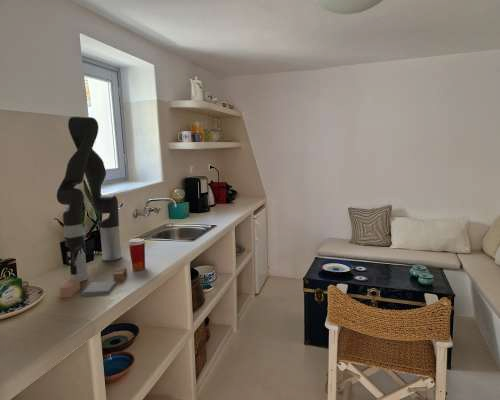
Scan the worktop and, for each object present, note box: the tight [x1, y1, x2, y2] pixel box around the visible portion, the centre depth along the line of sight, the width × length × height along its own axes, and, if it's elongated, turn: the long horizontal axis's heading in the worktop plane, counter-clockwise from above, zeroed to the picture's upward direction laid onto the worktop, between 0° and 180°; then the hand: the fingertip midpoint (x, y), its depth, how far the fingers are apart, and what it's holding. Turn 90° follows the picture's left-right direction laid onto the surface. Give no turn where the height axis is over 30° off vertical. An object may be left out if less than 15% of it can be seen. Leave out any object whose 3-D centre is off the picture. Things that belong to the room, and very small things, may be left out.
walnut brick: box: [112, 266, 128, 284], centre depth 149 cm, size 8×4×4 cm, turn 9°
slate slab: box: [81, 280, 117, 297], centre depth 138 cm, size 10×10×2 cm
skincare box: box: [68, 253, 89, 283], centre depth 148 cm, size 6×4×12 cm
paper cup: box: [127, 237, 146, 272], centre depth 161 cm, size 8×8×14 cm
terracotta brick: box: [59, 279, 81, 298], centre depth 136 cm, size 8×4×4 cm, turn 5°
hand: (78, 270), depth 148 cm, fingers open, 8 cm apart
